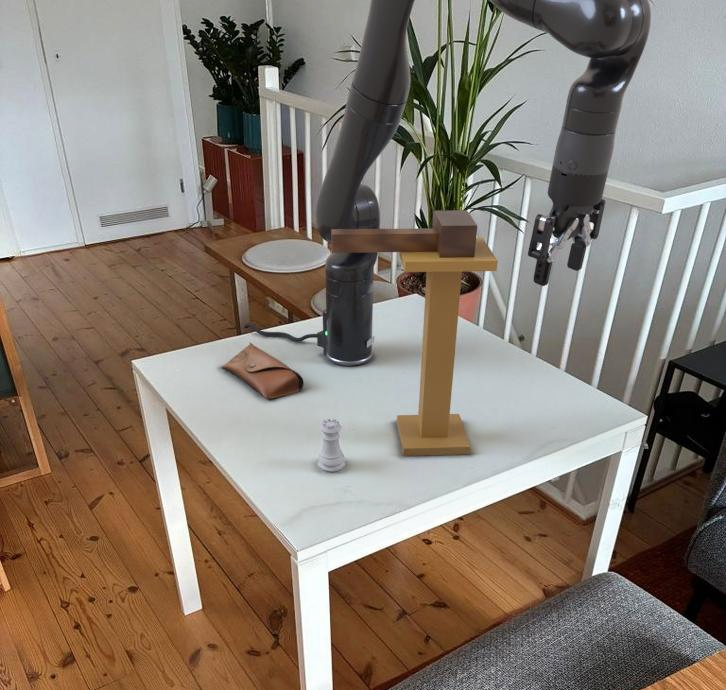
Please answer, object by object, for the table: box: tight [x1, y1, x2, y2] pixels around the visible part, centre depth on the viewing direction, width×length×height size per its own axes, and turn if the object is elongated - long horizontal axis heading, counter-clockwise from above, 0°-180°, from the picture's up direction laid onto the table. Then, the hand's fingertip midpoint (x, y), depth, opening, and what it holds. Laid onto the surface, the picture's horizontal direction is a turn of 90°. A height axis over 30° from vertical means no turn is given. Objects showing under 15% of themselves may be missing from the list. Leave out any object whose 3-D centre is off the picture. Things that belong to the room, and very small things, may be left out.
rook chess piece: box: [317, 417, 346, 473], centre depth 115 cm, size 4×4×8 cm
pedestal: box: [396, 237, 499, 457], centre depth 116 cm, size 13×11×32 cm
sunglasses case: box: [221, 342, 305, 400], centre depth 142 cm, size 18×7×7 cm, turn 39°
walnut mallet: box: [331, 209, 478, 258], centre depth 105 cm, size 20×8×4 cm, turn 93°
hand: (557, 276), depth 111 cm, fingers open, 8 cm apart
